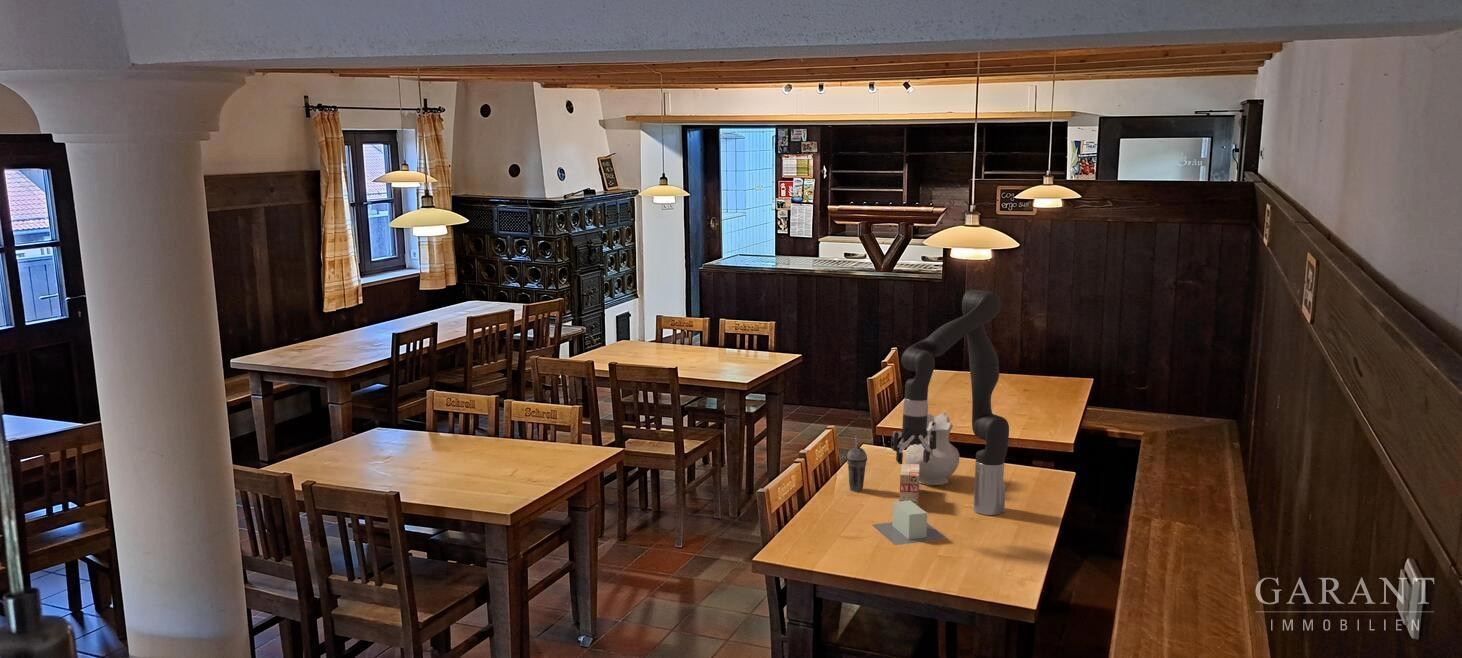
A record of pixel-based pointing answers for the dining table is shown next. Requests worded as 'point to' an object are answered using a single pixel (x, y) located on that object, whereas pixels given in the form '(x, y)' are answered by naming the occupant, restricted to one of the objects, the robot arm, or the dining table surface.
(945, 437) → the ceramic pitcher
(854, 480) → the beverage cup
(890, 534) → the gray tile
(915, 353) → the robot arm
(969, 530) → the dining table surface
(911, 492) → the stack of blocks
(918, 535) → the sage block
